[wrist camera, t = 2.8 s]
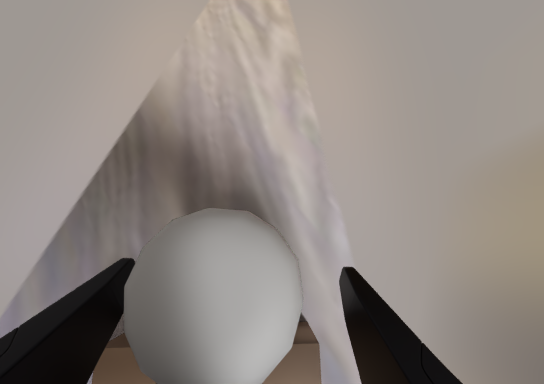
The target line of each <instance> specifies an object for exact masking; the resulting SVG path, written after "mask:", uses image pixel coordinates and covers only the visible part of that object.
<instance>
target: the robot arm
mask: <svg viewBox="0 0 544 384" xmlns="http://www.w3.org/2000/svg"><path fill="white" fill-rule="evenodd" d="M134 265H135V261H134V259H132V258H122V259H120V260H119V261H117V262H116V263H114V264H113V265H111V266H110V267H108V268H107V269H105V270H104V271H102V272H100V273H99V274H97V275H96V276H94V277H93V278H91V279H90V280H88V281H87V282H85V283H84V284H82V285H81V286H79V287H78V288H76V289H75V290H73V291H72V292H70V293H69V294H67V295H66V296H64V297H63V298H61V299H60V300H58V301H57V302H55V303H54V304H52V305H50V306H49V307H47V308H46V309H44V310H43V311H41V312H40V313H38V314H37V315H35V316H34V317H32V318H31V319H29V320H28V321H26V322H25V323H23V324H22V325H20V326H19V328H16V329H14V330H13V331H11V332H9V333H8V334H6V335H5V336H3V337H2V338H0V384H87V382H88V380H89V378H90V376H91V374H92V372H93V371H94V369H95V367H96V365H97V363H98V361H99V359H100V357H101V355H102V353H103V351H104V349H105V347H106V345H107V343H108V342H109V340H110V338H111V336H112V334H113V332H114V330H115V328H116V326H117V324H118V322H119V320H120V318H121V316H122V314H123V312H124V286H125V284H126V282H127V280H128V278H129V276H130V274H131V272H132V269H133V267H134ZM339 285H340V291H341V298H342V304H343V311H344V317H345V322H346V326H347V330H348V334H349V337H350V341H351V345H352V349H353V352H354V356H355V360H356V364H357V367H358V371H359V375H360V379H361V382H362V384H463V383H461V382H460V381H459V380H458V379H457V378H456V377H455V376H454V375H453V374H452V373H451V372H450V371H449V370H448V369H447V368H446V367H445V366H444V365H443V364H442V362H440V360H439V359H438V358H437V357H436V356H435V355H434V354H433V353H432V352H431V351H430V350H429V349H428V348H427V347H426V345H425V344H424V343H422V342H421V340H420V339H419V338H418V337H417V336H416V335H415V334H414V333H413V331H412V330H411V329H410V328H409V327H408V326H407V325H406V324H405V323H404V322H403V321H402V320H401V318H400V317H399V316H398V315H397V314H396V313H395V312H394V311H393V310H392V309H391V308H390V307H389V305H388V304H387V303H386V302H385V301H384V300H383V299H382V298H381V297H380V296H379V295H378V293H377V292H376V291H375V290H374V289H373V288H372V287H371V286H370V285H369V284H368V283H367V281H366V280H365V279H364V278H363V277H362V276H361V275H360V274H359V273H358V272H357V271H356V270H355V269H354V268H353V267H343V269H342V272H341V276H340V279H339Z"/></svg>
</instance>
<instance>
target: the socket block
mask: <svg viewBox="0 0 544 384" xmlns="http://www.w3.org/2000/svg"><path fill="white" fill-rule="evenodd" d="M92 384H157V383H156V382H155V381H153V380H152V379H151V378H149V377H148V376H146V375H145V374H144V373H142V372H141V370H140V368H139V366H138V363H137V361H136V359H135V356H134V354H133V352H132V349H131V347H130V344H129V342H128V340H127V337H126V335H125V333H123V334H121V335H120V336H118V337H116V338H114V339H113V340H111V341H109V342H108V343H107V345H106V347H105V349H104V351H103V353H102V355H101V357H100V359H99V361H98V363H97V365H96V367H95V369H94V372H93V378H92ZM262 384H321V369H320V352H319V343H318V341H317V339H316V337H315V335H314V333H313V331H312V330H311V328H310V326H309V324H308V322H298V326H297V329H296V333H295V337H294V341H293V345H292V348H291V350H290V351H289V352H288V353H287V354H286V355H285V357H284V358H283V359H282V360H281V361H280V363H279V364H278V365H277V366H276V367H275V369H274V370H273V371H272V372H271V373H270V374H269V376H268V377H267V378H266V379H265V380H264V382H263V383H262Z"/></svg>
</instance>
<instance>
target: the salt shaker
mask: <svg viewBox="0 0 544 384" xmlns="http://www.w3.org/2000/svg"><path fill="white" fill-rule="evenodd" d="M303 300H304V298H303V291H302V284H301V277H300V270H299V263H298V259H297V257H296V256H295V254H294V253H293V251H292V250H291V248H290V247H289V245H288V244H287V242H286V241H285V240H284V238H283V237H282V235H281V234H280V232H279V231H278V229H276V228H275V227H273V226H272V225H270V224H268V223H267V222H265V221H264V220H262V219H260V218H259V217H257V216H256V215H254V214H252V213H251V212H249V211H243V210H231V209H219V208H206V209H203V210H200V211H197V212H194V213H191V214H188V215H185V216H182V217H179V218H176V219H173V220H172V221H171V222H170V223H168V224H167V225H166V226H165V227H164V228H163V229H162V230H161V231H160V232H159V233H158V234H157V235H156V236H155V237H154V238H153V239H151V240H150V241H149V242H148V243H147V244H146V245H145V246H144V247H143V248H142V250H141V253H140V255H139V257H138V259H137V261H136V263H135V265H134V267H133V269H132V272H131V274H130V276H129V278H128V280H127V282H126V284H125V286H124V333H125V335H126V337H127V340H128V342H129V344H130V347H131V349H132V352H133V354H134V356H135V359H136V361H137V363H138V366H139V368H140V370H141V372H142V373H144V374H145V375H146V376H148V377H149V378H151V379H152V380H153V381H155V382H156V383H157V384H262V383H263V382H264V380H265V379H266V378H267V377H268V376H269V374H270V373H271V372H272V371H273V370H274V369H275V367H276V366H277V365H278V364H279V363H280V361H281V360H282V359H283V358H284V357H285V355H286V354H287V353H288V352H289V351H290V350H291V348H292V345H293V341H294V337H295V333H296V329H297V326H298V322H299V318H300V314H301V310H302V306H303Z"/></svg>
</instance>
